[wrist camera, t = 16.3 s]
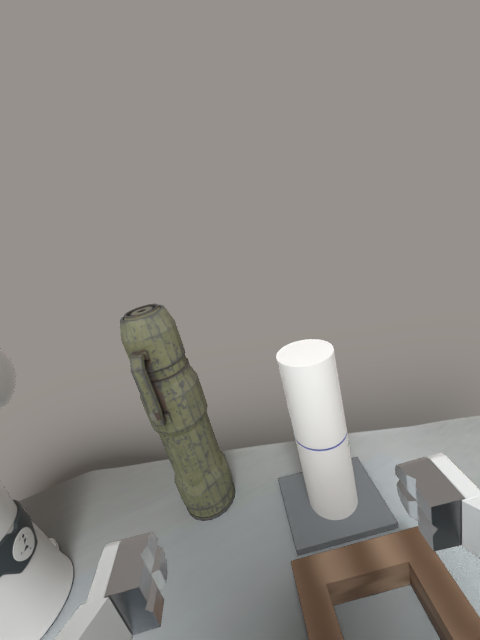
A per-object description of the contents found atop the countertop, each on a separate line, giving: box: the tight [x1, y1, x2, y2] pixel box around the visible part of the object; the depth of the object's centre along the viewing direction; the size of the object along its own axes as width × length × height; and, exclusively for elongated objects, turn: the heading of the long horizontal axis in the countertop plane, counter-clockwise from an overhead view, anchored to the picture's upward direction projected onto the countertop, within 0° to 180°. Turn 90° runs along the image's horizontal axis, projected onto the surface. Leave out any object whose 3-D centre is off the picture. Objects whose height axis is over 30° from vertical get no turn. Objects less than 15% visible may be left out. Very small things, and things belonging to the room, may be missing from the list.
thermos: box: [120, 304, 235, 521], centre depth 48 cm, size 9×12×35 cm
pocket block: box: [291, 526, 480, 640], centre depth 31 cm, size 16×16×4 cm
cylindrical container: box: [276, 339, 358, 520], centre depth 43 cm, size 7×7×25 cm
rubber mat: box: [278, 457, 398, 555], centre depth 47 cm, size 14×12×1 cm
